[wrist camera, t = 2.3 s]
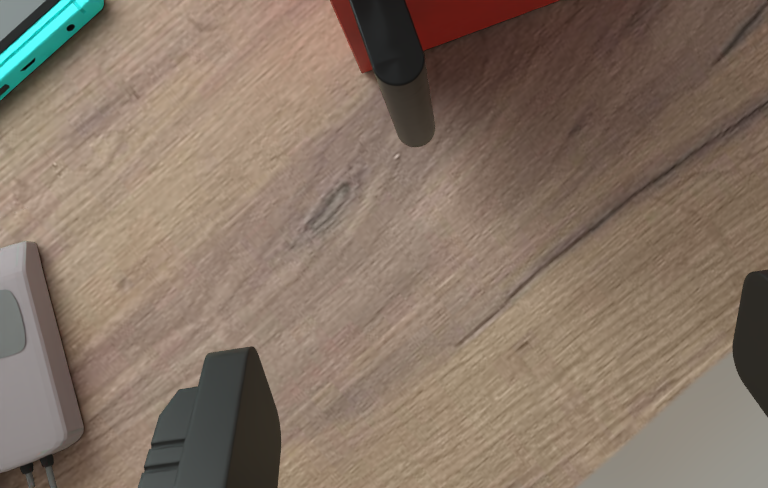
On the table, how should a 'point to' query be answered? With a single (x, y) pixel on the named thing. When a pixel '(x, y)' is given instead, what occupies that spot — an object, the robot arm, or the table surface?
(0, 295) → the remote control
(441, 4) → the door
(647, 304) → the table surface
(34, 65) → the handheld game console
